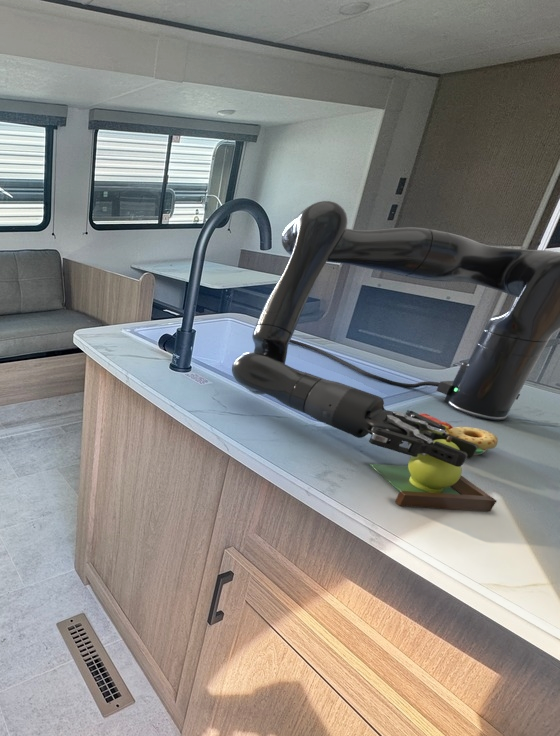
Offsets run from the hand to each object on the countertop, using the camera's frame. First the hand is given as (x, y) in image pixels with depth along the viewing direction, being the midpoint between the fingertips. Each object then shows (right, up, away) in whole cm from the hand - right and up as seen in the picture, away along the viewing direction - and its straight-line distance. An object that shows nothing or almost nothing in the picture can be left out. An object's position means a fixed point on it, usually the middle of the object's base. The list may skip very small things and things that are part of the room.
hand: (468, 456), depth 61 cm
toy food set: (+12, 0, +18) cm, 22 cm away
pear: (-2, -5, +5) cm, 8 cm away
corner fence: (-3, -5, +6) cm, 8 cm away
